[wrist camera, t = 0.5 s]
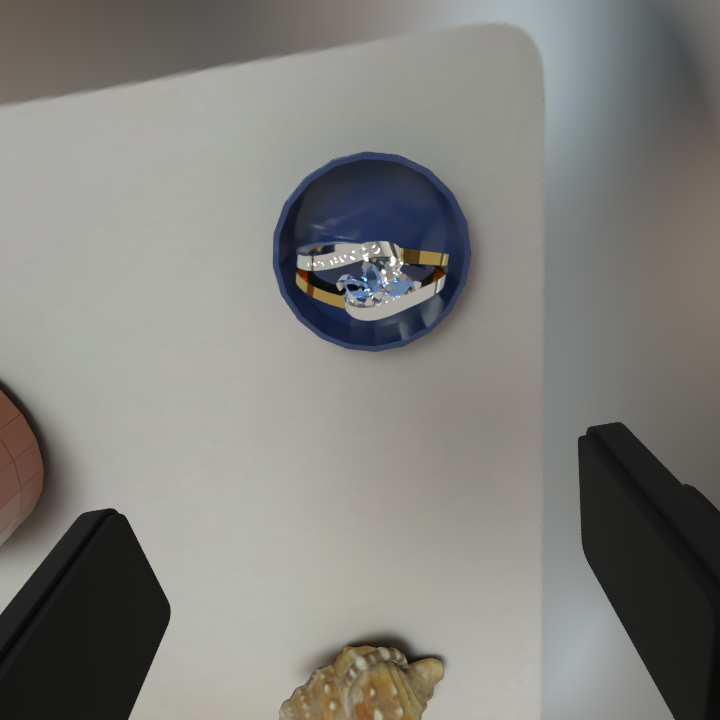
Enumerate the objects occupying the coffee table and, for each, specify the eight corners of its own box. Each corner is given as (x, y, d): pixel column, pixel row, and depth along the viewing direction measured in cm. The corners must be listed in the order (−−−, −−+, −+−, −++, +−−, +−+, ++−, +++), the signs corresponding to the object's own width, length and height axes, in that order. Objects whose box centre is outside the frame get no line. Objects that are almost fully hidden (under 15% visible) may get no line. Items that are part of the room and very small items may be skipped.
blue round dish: (260, 177, 24) (247, 180, 22) (444, 133, 23) (455, 129, 21) (308, 346, 28) (302, 366, 25) (469, 313, 27) (481, 330, 24)
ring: (440, 225, 25) (472, 253, 18) (430, 285, 26) (456, 335, 19) (307, 211, 25) (282, 233, 17) (303, 272, 26) (279, 317, 19)
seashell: (352, 667, 43) (283, 774, 35) (342, 589, 41) (267, 683, 33) (450, 706, 39) (398, 841, 30) (444, 621, 37) (386, 739, 28)
